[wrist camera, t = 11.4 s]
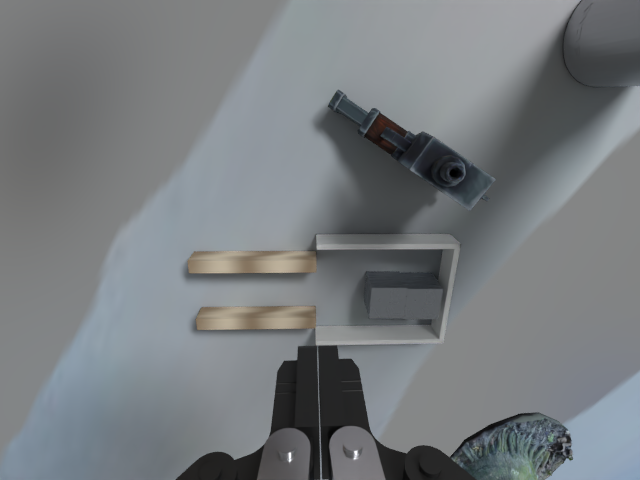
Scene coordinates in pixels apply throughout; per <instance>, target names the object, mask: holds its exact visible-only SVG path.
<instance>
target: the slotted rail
mask: <svg viewBox="0 0 640 480" xmlns="http://www.w3.org/2000/svg"><path fill="white" fill-rule="evenodd" d="M188 268H189V273H311V272H316V251H216V252H194V253H193V254H192V255H191V257H190V258H189V260H188ZM196 324H197V330H226V329H304V328H316V308H315V306H278V307H202V308H201V310H200V312H199V314H198V316H197V318H196Z"/></svg>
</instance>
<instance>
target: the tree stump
mask: <svg viewBox="0 0 640 480" xmlns="http://www.w3.org/2000/svg"><path fill="white" fill-rule="evenodd" d="M549 447H551V448H549ZM570 448H571V438H570V433H569V431H568V429H566V428H565V427H564V426H563V425H562V424H561V423H560V422H558V421H557V420H555V419H552V418H550V417H548V416H546V415H543V414H541V413H537V412H536V413H521V414H518V415H515V416H512V417H509V418H506V419H504V420H501V421H498V422H495V423H493V424H490V425H488V426H487V427H485V428H483V429H482V430H480V431H478V432H477V433H475V434H473V435H472V436H470V437H468V438H467V439H465V440H464V441H463V442H462V444H461V445H460V446H459V447H458V449H457V450H456V451H455V452H454V453H453V454H452V455H451V457H450V458H451V459H452V460H453V461H454V462H456V463H457V464H458V465H459V466H460V467H462V468H463V469H464V470H465V471H467V472H468V473H469V474H470V475H472V476H473V477H474V478H475V479H477V480H545V479H546V478H548V477H549V476H550V475H551V476H552V473H553V472H554V471H555V470H556V469H557V468H558V467H559V466H560V465H561V464H563V463H564V461H565V459H566V458H569V460H573V457H572V450H571V449H570Z"/></svg>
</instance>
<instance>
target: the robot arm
mask: <svg viewBox="0 0 640 480" xmlns="http://www.w3.org/2000/svg"><path fill="white" fill-rule="evenodd" d="M563 50H564V59H565V63H566V66H567V68H568V70H569V72H570V74H571V75H572V76H573V77H574V78H575V79H576V80H577V81H579V82H581V83H582V84H584V85H588V86H592V87H618V86H640V0H582V1H581V3H580V4H579V5H578V7H577V8H576V9H575V11H574V13H573V15H572V17H571V19H570V21H569V23H568V26H567V29H566V32H565V37H564V44H563ZM318 355H319V398H320V427H321V455H322V479H329V480H477V479H475V478H474V477H473V476H472V475H470V474H469V473H468V472H467V471H465V470H464V469H463V468H462V467H460V466H459V465H458V464H457V463H456V462H454V461H453V460H452V459H451V458H449V457H448V456H447V455H446V454H444V453H443V452H442V451H440V450H438V449H436V448H433V447H431V446H424V445H423V446H417V447H414V448H412V449H411V450H410V451H409V452H408V453H407V454H406V453H402V452H399V451H395V450H392V449H389V448H387V447H385V446H383V445H382V444H381V443H379V442H378V441H377V440H376V439H375V438H374V436H373V435H372V433H371V431H370V427H369V422H368V417H367V411H366V406H365V400H364V395H363V390H362V384H361V378H360V373H359V368H358V367H357V365H356V364H355V363H354V361H353V360H352V359H339V358H338V349H337V345H323V346H318ZM176 480H320V443H319V404H318V372H317V346H298V358H297V360H295V361H284V362H283V364H282V365H281V367H280V368H279V370H278V372H277V381H276V389H275V398H274V407H273V416H272V425H271V432H270V435H269V438H268V439H267V441H266V443H265V444H264V445H263V446H262V447H261V448H260V449H259V450H257V451H256V452H254V453H252V454H250V455H247V456H245V457H242V458H239V459H236V460H234V459H233V458H232V457H231V456H230V455H228V454H226V453H223V452H212V453H209V454H206V455H204V456H202V457H201V458H199V459H198V460H197V461H196V462H194V463H193V464H192V465H191V466H190V467H189V468H188V469H187V470H186V471H185V472H183V473H182V474H181V475H180V476H179V477H178V478H177V479H176Z"/></svg>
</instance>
